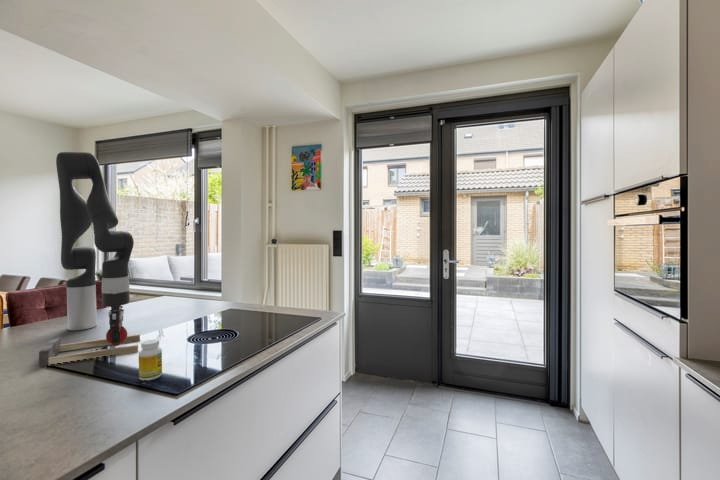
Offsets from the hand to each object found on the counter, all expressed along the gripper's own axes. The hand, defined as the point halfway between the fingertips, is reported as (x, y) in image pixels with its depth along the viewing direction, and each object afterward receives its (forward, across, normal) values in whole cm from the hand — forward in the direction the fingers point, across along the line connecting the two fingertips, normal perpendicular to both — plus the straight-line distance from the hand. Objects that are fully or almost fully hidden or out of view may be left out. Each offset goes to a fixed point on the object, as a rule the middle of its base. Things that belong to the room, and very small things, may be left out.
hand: (116, 339), depth 114 cm
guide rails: (+3, 0, -6) cm, 7 cm away
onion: (+2, 0, 0) cm, 2 cm away
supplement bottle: (+3, +32, +10) cm, 34 cm away
